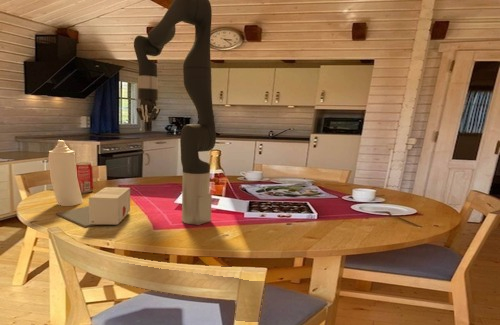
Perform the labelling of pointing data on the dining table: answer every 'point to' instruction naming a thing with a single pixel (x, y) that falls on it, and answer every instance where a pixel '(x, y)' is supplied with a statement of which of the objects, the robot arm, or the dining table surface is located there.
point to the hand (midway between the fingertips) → (148, 131)
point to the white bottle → (64, 175)
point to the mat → (78, 216)
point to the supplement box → (109, 205)
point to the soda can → (85, 177)
